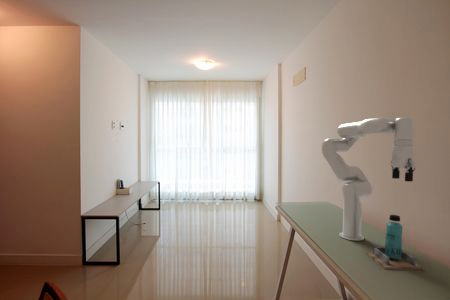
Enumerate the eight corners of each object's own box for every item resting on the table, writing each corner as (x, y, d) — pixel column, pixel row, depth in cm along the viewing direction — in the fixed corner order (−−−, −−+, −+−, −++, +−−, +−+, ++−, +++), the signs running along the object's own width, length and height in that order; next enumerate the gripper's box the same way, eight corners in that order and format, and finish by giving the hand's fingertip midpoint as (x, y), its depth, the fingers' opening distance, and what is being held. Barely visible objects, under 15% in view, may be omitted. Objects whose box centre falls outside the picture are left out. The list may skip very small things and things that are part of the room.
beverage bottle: (385, 254, 128) (387, 212, 127) (402, 258, 124) (404, 215, 123) (383, 259, 123) (384, 215, 122) (400, 263, 119) (402, 218, 118)
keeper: (366, 253, 131) (366, 245, 131) (399, 254, 131) (400, 246, 131) (384, 269, 116) (385, 259, 115) (423, 270, 115) (423, 260, 115)
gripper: (385, 143, 137) (383, 177, 138) (407, 143, 120) (405, 182, 120) (400, 143, 137) (398, 177, 138) (424, 144, 120) (422, 182, 120)
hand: (401, 179), depth 129 cm, fingers open, 9 cm apart
